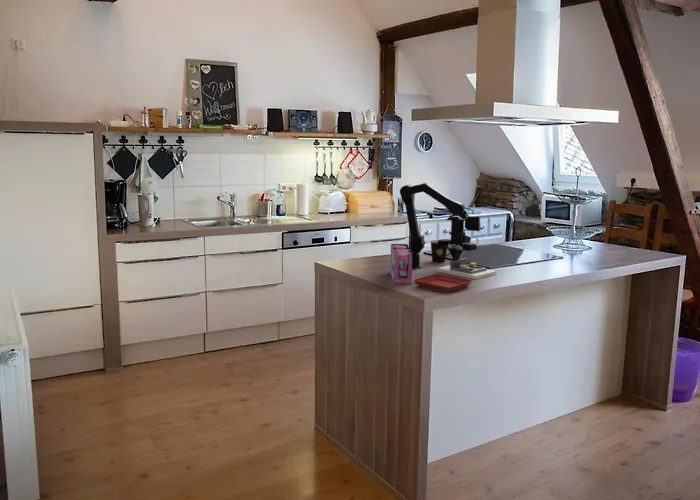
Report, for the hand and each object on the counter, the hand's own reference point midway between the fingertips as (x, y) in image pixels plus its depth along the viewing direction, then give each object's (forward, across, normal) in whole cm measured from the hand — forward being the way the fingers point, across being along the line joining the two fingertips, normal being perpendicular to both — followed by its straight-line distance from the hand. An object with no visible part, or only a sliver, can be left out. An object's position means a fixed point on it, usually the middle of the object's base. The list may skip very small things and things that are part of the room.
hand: (455, 263), depth 294 cm
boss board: (+4, -6, 0) cm, 7 cm away
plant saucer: (+4, -16, +30) cm, 34 cm away
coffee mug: (+4, +18, -12) cm, 22 cm away
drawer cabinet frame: (+2, -7, 0) cm, 8 cm away
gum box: (+4, +7, +31) cm, 32 cm away
